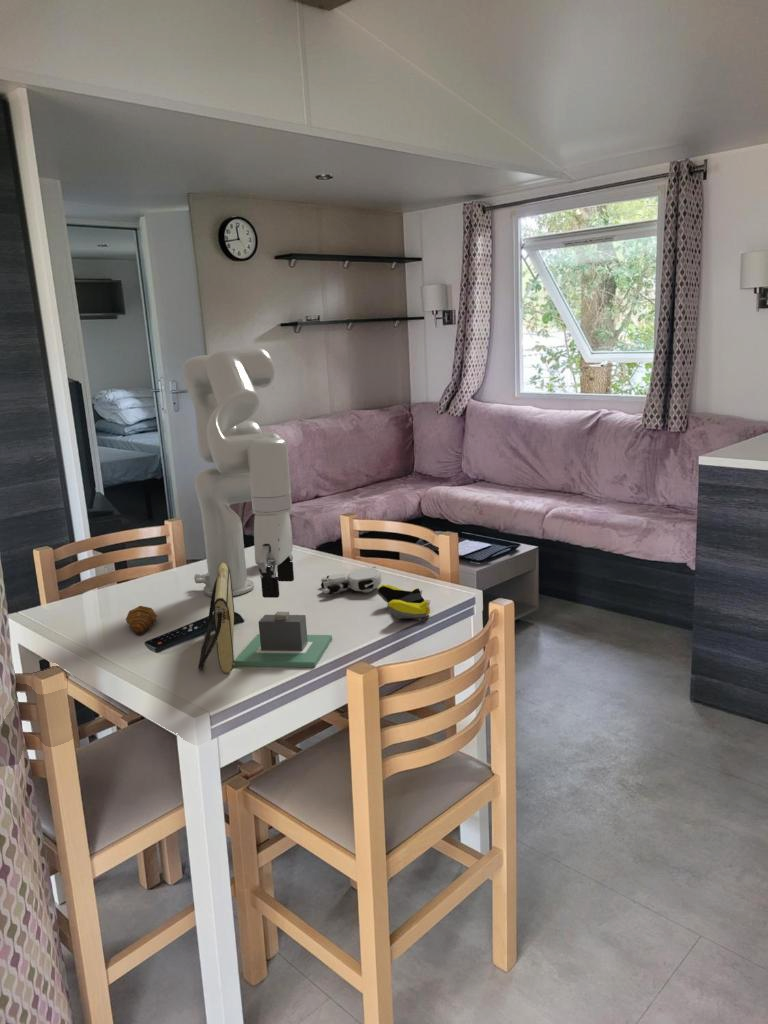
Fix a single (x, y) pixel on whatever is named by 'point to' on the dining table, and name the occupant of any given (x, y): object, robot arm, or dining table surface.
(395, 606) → the yellow black shoe
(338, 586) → the robot toy
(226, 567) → the clutch purse
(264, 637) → the block
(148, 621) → the croissant
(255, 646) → the pin board
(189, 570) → the dining table surface
